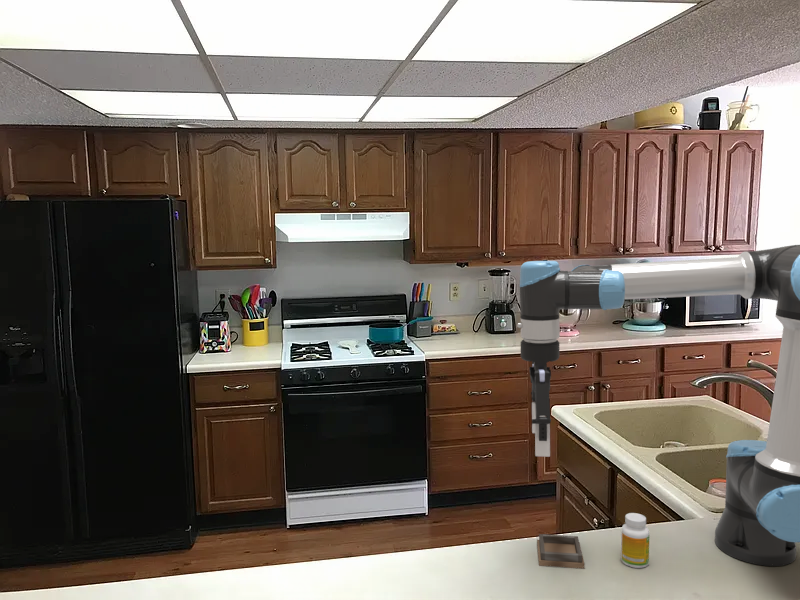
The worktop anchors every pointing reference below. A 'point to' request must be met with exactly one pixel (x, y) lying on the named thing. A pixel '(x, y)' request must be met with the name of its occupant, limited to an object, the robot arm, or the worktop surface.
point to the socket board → (560, 551)
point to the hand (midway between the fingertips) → (540, 443)
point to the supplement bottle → (635, 541)
